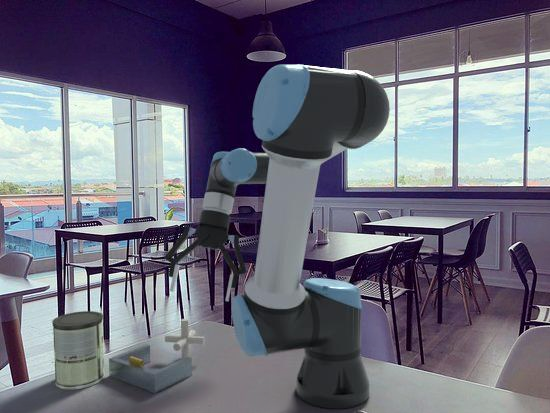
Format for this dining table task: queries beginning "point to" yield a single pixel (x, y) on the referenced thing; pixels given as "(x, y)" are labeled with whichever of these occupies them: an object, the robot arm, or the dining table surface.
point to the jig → (147, 370)
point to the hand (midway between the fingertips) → (199, 296)
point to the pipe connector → (184, 339)
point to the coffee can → (78, 349)
